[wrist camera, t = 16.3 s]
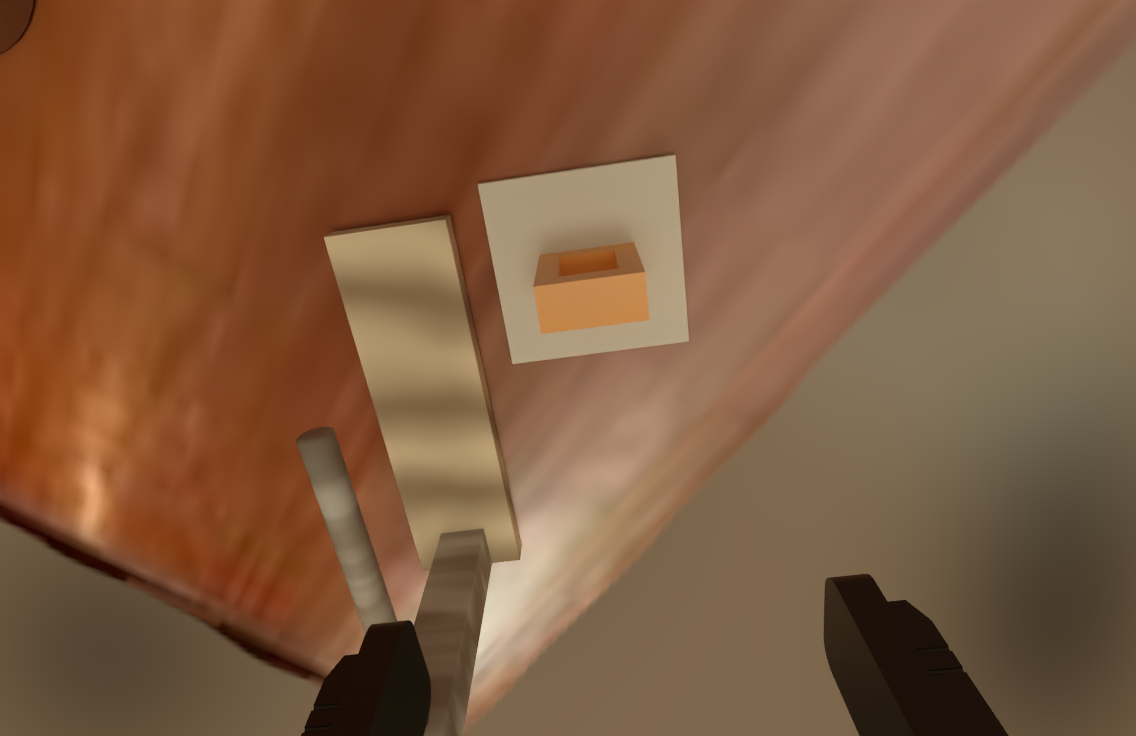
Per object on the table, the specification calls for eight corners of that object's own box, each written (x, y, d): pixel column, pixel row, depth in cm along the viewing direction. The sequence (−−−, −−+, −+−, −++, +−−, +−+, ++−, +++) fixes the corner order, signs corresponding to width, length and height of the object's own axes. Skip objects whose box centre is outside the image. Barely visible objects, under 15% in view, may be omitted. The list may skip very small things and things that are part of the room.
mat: (513, 360, 41) (512, 363, 40) (479, 182, 36) (477, 184, 36) (687, 337, 40) (688, 341, 39) (673, 154, 36) (675, 155, 35)
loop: (546, 295, 38) (541, 334, 32) (539, 254, 37) (533, 286, 31) (638, 283, 38) (649, 319, 32) (633, 242, 37) (645, 271, 31)
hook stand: (521, 545, 47) (492, 798, 30) (427, 556, 47) (348, 810, 31) (450, 214, 37) (350, 319, 20) (332, 231, 37) (143, 347, 21)
